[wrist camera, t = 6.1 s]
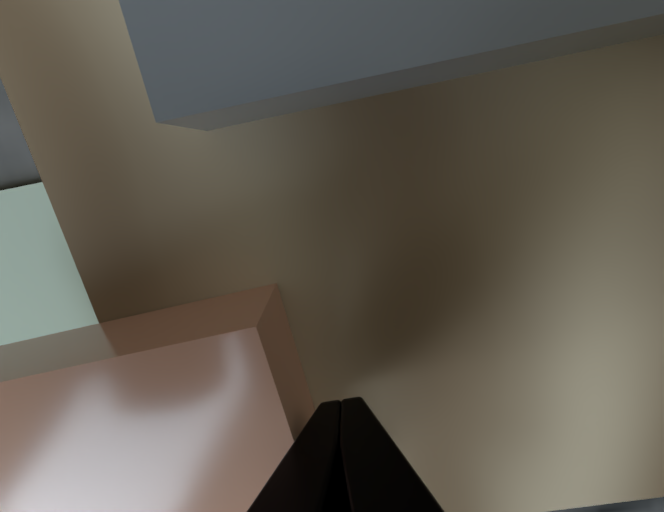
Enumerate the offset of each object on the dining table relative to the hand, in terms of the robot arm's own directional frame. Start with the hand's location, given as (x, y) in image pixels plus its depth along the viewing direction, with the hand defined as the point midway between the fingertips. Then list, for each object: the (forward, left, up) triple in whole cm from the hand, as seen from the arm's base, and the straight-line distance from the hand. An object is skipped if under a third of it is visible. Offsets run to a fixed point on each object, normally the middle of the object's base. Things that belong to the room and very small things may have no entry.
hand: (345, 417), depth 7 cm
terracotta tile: (+5, +1, -1) cm, 5 cm away
